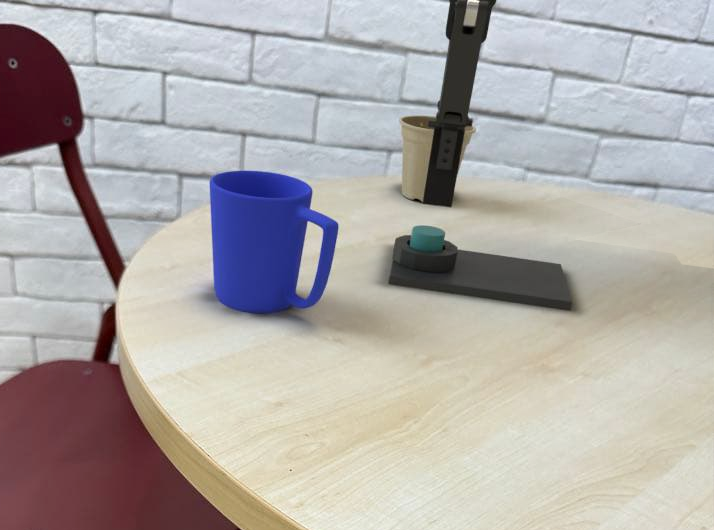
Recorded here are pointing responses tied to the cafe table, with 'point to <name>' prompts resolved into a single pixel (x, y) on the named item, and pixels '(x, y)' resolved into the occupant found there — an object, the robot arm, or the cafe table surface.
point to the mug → (264, 240)
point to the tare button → (427, 238)
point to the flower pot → (420, 153)
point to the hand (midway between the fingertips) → (437, 203)
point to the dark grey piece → (479, 275)
